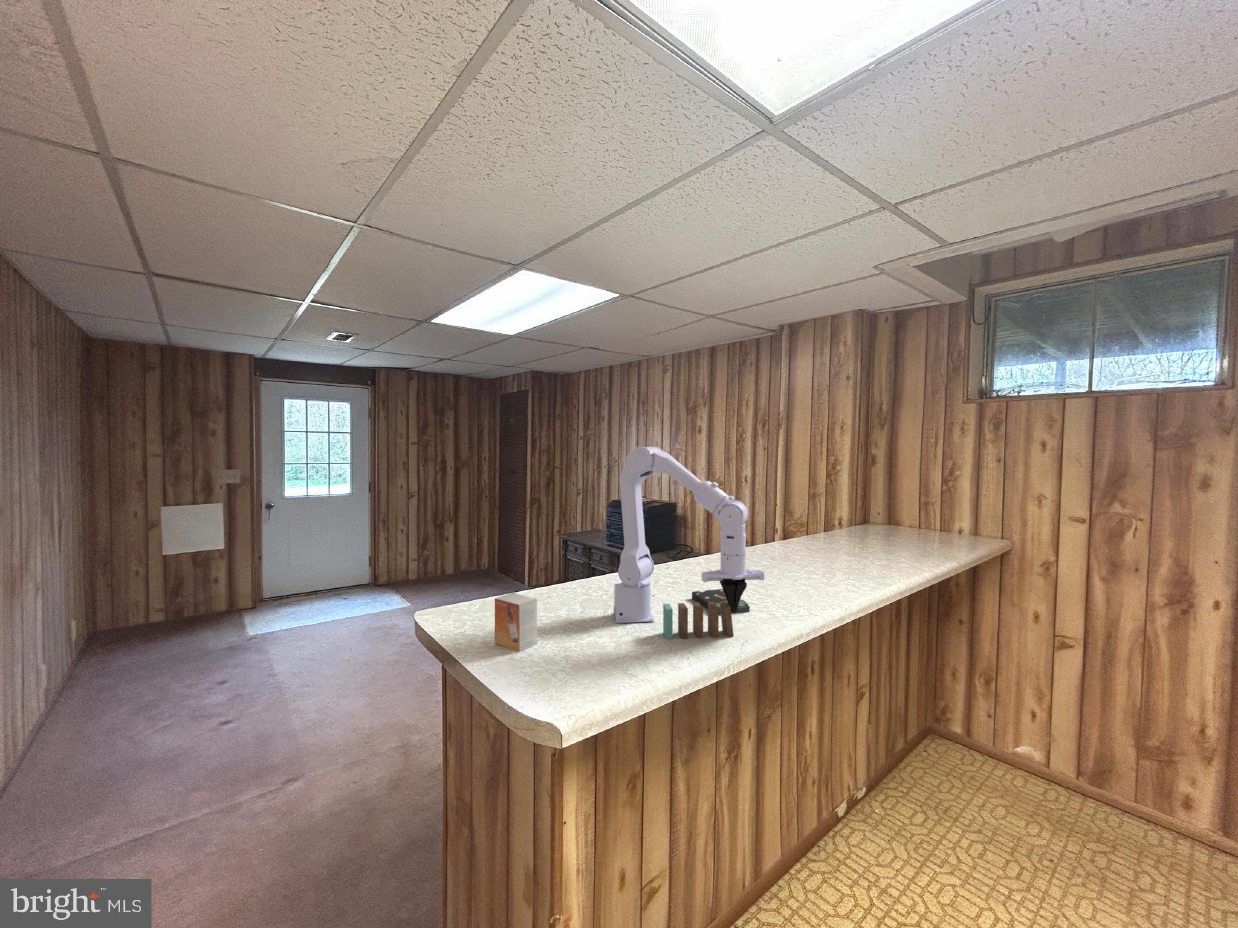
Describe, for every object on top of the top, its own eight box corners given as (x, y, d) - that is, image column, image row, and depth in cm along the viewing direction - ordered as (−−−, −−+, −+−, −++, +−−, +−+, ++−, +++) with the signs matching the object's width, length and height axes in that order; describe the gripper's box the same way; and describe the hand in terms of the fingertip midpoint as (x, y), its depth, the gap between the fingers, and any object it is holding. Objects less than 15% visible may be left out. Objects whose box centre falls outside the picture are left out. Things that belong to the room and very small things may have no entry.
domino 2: (697, 638, 114) (697, 608, 114) (693, 631, 118) (693, 602, 118) (703, 638, 114) (703, 607, 114) (698, 631, 118) (698, 602, 118)
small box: (494, 644, 111) (493, 597, 111) (512, 636, 116) (512, 591, 115) (519, 652, 107) (518, 604, 106) (537, 644, 111) (537, 597, 111)
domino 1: (681, 638, 114) (681, 608, 113) (678, 632, 118) (678, 603, 117) (687, 638, 114) (687, 608, 114) (683, 632, 118) (683, 602, 118)
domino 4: (727, 636, 115) (724, 607, 114) (722, 630, 119) (719, 601, 118) (733, 636, 115) (730, 606, 115) (728, 629, 119) (725, 601, 119)
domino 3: (712, 637, 114) (712, 607, 114) (707, 631, 118) (707, 602, 118) (718, 637, 115) (718, 607, 114) (713, 630, 119) (713, 601, 118)
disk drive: (690, 601, 143) (715, 617, 129) (690, 591, 143) (715, 606, 129) (723, 597, 146) (750, 613, 132) (723, 588, 146) (750, 602, 132)
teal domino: (669, 632, 118) (669, 603, 117) (672, 639, 114) (672, 609, 113) (663, 632, 117) (663, 603, 117) (666, 639, 113) (666, 609, 113)
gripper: (707, 558, 111) (707, 617, 112) (769, 556, 113) (769, 615, 113) (699, 551, 119) (699, 607, 119) (758, 549, 120) (757, 605, 120)
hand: (732, 610), depth 117 cm, fingers closed
